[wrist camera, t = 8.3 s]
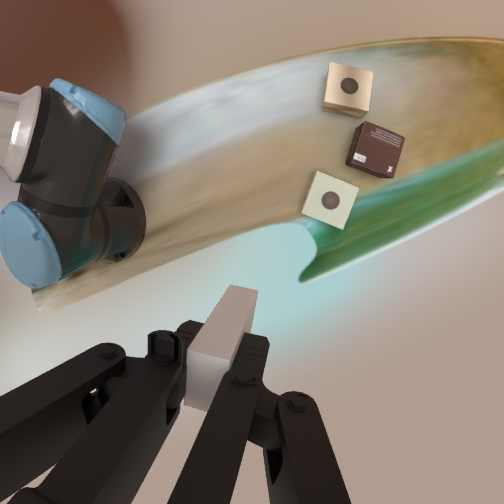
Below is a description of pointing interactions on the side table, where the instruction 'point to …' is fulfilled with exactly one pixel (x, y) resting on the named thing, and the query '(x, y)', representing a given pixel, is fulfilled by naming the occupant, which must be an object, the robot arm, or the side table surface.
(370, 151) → the box
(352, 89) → the beech block marked
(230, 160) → the side table surface
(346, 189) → the sage block partly covered
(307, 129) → the side table surface
